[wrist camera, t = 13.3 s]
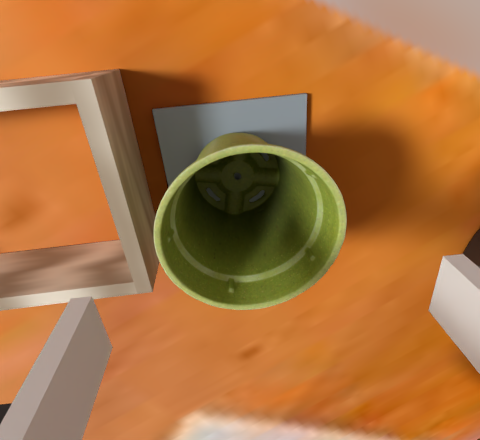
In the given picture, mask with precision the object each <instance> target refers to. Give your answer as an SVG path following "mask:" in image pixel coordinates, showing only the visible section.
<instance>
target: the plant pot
mask: <svg viewBox="0 0 480 440" xmlns="http://www.w3.org/2000/svg"><path fill="white" fill-rule="evenodd" d="M260 153H267V155H268V156H269V160H268V161H265V159H264V158H263V156H262V155H261V154H260ZM235 173H239V174H240V175H241V178H240V179H239V180H236V179H235V178H234V174H235ZM207 188H210V189H211V190H212V191H213V193H214V194H215V195H216V196H217V197H219V198H220V201H216V200H215V199H214V198H213V197H211V196H210V195H209V194H208V193H207V191H206V190H207ZM262 190H264V191H265V192H264V195H263V196H262V197H261V198H259V199H258V200H256V201H254V202H250V201H249V200H250V199H251V198H253V197H254V196H256V195H257V194H259V192H260V191H262ZM346 225H347V215H346V207H345V203H344V200H343V196H342V194H341V192H340V190H339V188H338V186H337V184H336V183H335V181H334V180H333V179H332V177H331V176H330V175H329V174H328V173H327V172H326V171H325V170H324V169H323V168H322V167H321V166H320V165H319V164H317V163H316V162H315V161H313V160H312V159H310V158H309V157H307V156H305V155H303V154H301V153H299V152H297V151H294V150H292V149H289V148H285V147H282V146H278V145H272V144H268V143H267V142H265V141H264V140H263V139H261V138H259V137H258V136H255V135H252V134H247V133H228V134H224V135H221V136H219V137H217V138H215V139H214V140H212V141H211V142H209V143H208V144H207V145H206V146H205V147H204V149H203V150H202V151H201V153H200V154H199V156H198V158H197V160H196V161H195V162H194V163H192V164H191V165H190V166H188V167H187V168H186V169H185V170H184V171H182V172H181V173H180V174H179V175H178V176H177V178H176V179H175V180H174V181H173V182H172V184H171V185H170V186H169V188H168V189H167V191H166V193H165V194H164V196H163V198H162V200H161V203H160V205H159V207H158V210H157V213H156V217H155V222H154V245H155V250H156V253H157V256H158V259H159V261H160V263H161V266H162V267H163V269H164V271H165V272H166V274H167V275H168V277H169V278H170V279H171V280H172V281H173V282H174V283H175V284H176V285H177V286H178V287H179V288H180V289H182V290H183V291H184V292H185V293H187V294H188V295H190V296H191V297H193V298H195V299H197V300H200V301H202V302H204V303H206V304H209V305H211V306H215V307H219V308H226V309H235V310H252V309H260V308H266V307H270V306H274V305H277V304H280V303H282V302H285V301H288V300H290V299H292V298H294V297H296V296H297V295H299V294H301V293H302V292H304V291H306V290H307V289H308V288H310V287H311V286H313V285H314V284H315V283H316V282H317V281H318V280H319V279H320V278H322V277H323V275H324V274H325V273H326V272H327V271H328V269H329V268H330V266H331V265H332V264H333V262H334V261H335V259H336V257H337V256H338V254H339V251H340V249H341V246H342V244H343V241H344V238H345V233H346Z"/></svg>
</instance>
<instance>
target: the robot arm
mask: <svg viewBox="0 0 480 440" xmlns="http://www.w3.org/2000/svg"><path fill="white" fill-rule="evenodd" d="M429 312H430V313H431V314H432V315H433V317H434V318H435V319H436V320H437V321H438V323H439V324H440V325H441V326H442V328H443V329H444V330H445V331H446V333H447V334H448V335H449V336H450V338H451V339H452V340H453V341H454V343H455V344H456V345H457V346H458V348H459V349H460V350H461V351H462V353H463V354H464V355H465V356H466V357H467V359H468V360H469V361H470V362H471V364H472V365H473V366H474V367H475V369H476V370H477V371H478V372H479V374H480V229H479V230H478V232H477V233H476V234H475V235H474V237H473V238H472V239H471V241H470V242H469V244H468V246H467V247H466V249H465V251H464V253H463V254H459V255H450V256H443V258H442V262H441V266H440V270H439V273H438V277H437V281H436V285H435V288H434V292H433V296H432V300H431V303H430V307H429ZM112 348H113V347H112V345H111V342H110V340H109V337H108V335H107V333H106V330H105V328H104V325H103V323H102V320H101V318H100V315H99V313H98V310H97V308H96V305H95V303H94V300H93V298H92V296H89V297H80V298H71V299H70V301H69V303H68V304H67V306H66V308H65V310H64V312H63V313H62V315H61V317H60V319H59V320H58V322H57V324H56V326H55V328H54V329H53V331H52V333H51V335H50V337H49V338H48V340H47V342H46V344H45V345H44V347H43V349H42V351H41V353H40V354H39V356H38V358H37V360H36V361H35V363H34V365H33V367H32V369H31V370H30V372H29V374H28V376H27V377H26V379H25V381H24V383H23V385H22V386H21V388H20V390H19V392H18V394H17V395H16V397H15V399H14V401H13V402H12V403H11V404H2V405H0V440H82V438H83V435H84V432H85V429H86V426H87V423H88V420H89V417H90V414H91V411H92V408H93V405H94V402H95V399H96V396H97V393H98V390H99V387H100V384H101V381H102V378H103V375H104V372H105V369H106V366H107V363H108V360H109V357H110V354H111V351H112ZM478 440H480V439H478Z"/></svg>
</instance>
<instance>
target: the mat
mask: <svg viewBox="0 0 480 440" xmlns="http://www.w3.org/2000/svg"><path fill="white" fill-rule="evenodd" d="M152 112H153V116H154V121H155V126H156V131H157V135H158V140H159V145H160V149H161V154H162V159H163V164H164V168H165V173H166V178H167V182H168V187H169V186H170V185H171V184H172V182H173V181H174V180H175V179H176V178H177V176H178V175H179V174H180V173H181V172H182V171H184V170H185V169H186V168H187V167H188V166H190V165H191V164H192V163H194V162H195V161H196V160H197V158H198V156H199V154H200V153H201V151H202V150H203V149H204V147H205V146H206V145H207V144H208V143H209V142H211V141H212V140H214V139H215V138H217V137H219V136H221V135H224V134H228V133H247V134H252V135H255V136H258V137H259V138H261V139H263V140H264V141H265V142H267V143H268V144H272V145H278V146H282V147H285V148H289V149H292V150H294V151H297V152H299V153H301V154H303V155H305V156H306V122H307V94H306V93H301V94H292V95H282V96H273V97H263V98H253V99H244V100H234V101H224V102H215V103H205V104H196V105H186V106H176V107H167V108H157V109H153V110H152ZM260 154H261V155H262V156H263V158H264V159H265V161H268V160H269V156H268V155H267V153H260ZM234 178H235V179H236V180H239V179H240V178H241V175H240V174H239V173H235V174H234ZM206 191H207V193H208V194H209V195H210V196H211V197H213V198H214V199H215V200H216V201H220V198H219V197H217V196H216V195H215V194H214V193H213V191H212V190H211V189H210V188H207V190H206ZM264 192H265V191H264V190H262V191H260V192H259V194H257V195H256V196H254V197H253V198H251V199H250V200H249V201H250V202H254V201H256V200H258V199H259V198H261V197H262V196H263V195H264Z"/></svg>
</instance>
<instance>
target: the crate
mask: <svg viewBox="0 0 480 440" xmlns="http://www.w3.org/2000/svg"><path fill="white" fill-rule="evenodd" d="M69 104H77V108H78V111H79V114H80V117H81V120H82V123H83V126H84V129H85V133H86V136H87V139H88V142H89V145H90V148H91V151H92V154H93V157H94V161H95V164H96V167H97V170H98V173H99V176H100V179H101V182H102V185H103V189H104V192H105V195H106V198H107V201H108V204H109V207H110V210H111V213H112V217H113V220H114V223H115V226H116V229H117V232H118V235H119V238H120V240H113V241H105V242H96V243H88V244H79V245H71V246H62V247H53V248H45V249H36V250H28V251H19V252H10V253H2V254H0V311H1V310H9V309H17V308H25V307H34V306H42V305H50V304H58V303H66V302H69V301H70V299H71V298H80V297H89V296H92V298H93V299H99V298H107V297H115V296H124V295H132V294H140V293H148V292H153V288H154V283H155V279H156V274H157V269H158V265H159V259H158V256H157V253H156V250H155V245H154V222H155V217H156V216H155V212H154V208H153V204H152V200H151V195H150V191H149V187H148V183H147V179H146V175H145V171H144V167H143V163H142V159H141V155H140V151H139V147H138V142H137V138H136V134H135V130H134V126H133V122H132V118H131V114H130V110H129V106H128V102H127V98H126V94H125V89H124V85H123V81H122V77H121V73H120V69H114V70H104V71H94V72H83V73H73V74H63V75H53V76H43V77H33V78H23V79H13V80H3V81H0V112H1V111H10V110H20V109H30V108H40V107H49V106H59V105H69Z"/></svg>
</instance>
